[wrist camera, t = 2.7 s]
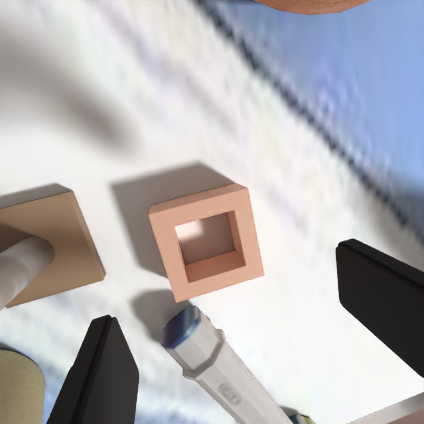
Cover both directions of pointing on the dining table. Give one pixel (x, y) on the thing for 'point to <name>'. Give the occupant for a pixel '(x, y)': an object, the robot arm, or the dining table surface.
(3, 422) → the plant pot
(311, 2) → the jug
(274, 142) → the dining table surface
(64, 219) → the post stand
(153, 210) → the ring
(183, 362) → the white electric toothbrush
